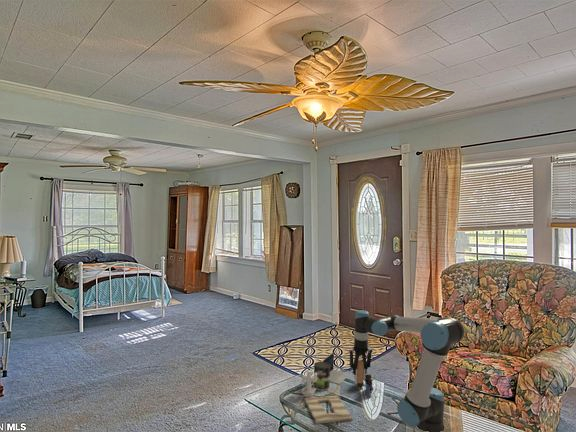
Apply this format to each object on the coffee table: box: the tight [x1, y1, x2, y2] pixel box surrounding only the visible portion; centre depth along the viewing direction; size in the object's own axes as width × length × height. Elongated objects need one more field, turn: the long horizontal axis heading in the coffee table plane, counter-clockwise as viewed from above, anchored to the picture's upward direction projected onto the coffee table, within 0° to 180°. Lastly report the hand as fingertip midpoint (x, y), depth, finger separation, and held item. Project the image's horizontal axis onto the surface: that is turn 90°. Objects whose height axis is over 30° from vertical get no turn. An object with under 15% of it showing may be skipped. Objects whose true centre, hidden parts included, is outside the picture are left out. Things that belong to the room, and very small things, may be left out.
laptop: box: [322, 352, 350, 385], centre depth 254 cm, size 18×12×13 cm
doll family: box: [353, 373, 374, 398], centre depth 236 cm, size 23×9×13 cm, turn 23°
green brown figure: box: [312, 361, 331, 392], centre depth 239 cm, size 10×10×14 cm
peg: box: [355, 358, 364, 384], centre depth 213 cm, size 4×4×12 cm
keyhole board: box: [304, 395, 354, 425], centre depth 212 cm, size 24×20×2 cm
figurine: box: [301, 369, 317, 398], centre depth 227 cm, size 7×9×15 cm
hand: (359, 379), depth 213 cm, fingers closed on peg, 4 cm apart
